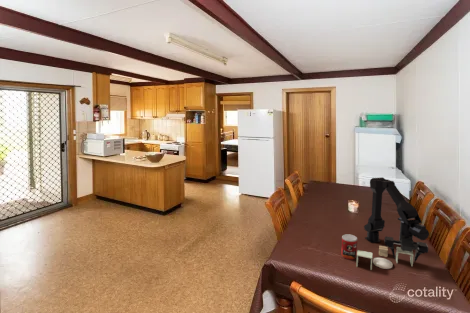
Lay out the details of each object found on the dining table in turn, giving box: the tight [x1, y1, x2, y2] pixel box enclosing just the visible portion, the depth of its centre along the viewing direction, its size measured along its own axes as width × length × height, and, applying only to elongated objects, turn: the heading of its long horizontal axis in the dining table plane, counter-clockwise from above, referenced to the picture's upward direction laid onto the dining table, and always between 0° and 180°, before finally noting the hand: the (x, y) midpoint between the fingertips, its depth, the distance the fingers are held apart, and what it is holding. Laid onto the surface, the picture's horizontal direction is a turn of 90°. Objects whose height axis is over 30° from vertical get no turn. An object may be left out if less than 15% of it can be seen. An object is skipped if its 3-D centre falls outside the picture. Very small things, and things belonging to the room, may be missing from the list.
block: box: [378, 245, 389, 258], centre depth 146 cm, size 4×4×4 cm
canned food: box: [340, 233, 358, 260], centre depth 145 cm, size 8×8×11 cm
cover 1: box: [355, 249, 373, 271], centre depth 136 cm, size 6×7×6 cm
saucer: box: [372, 257, 394, 270], centre depth 137 cm, size 9×9×1 cm
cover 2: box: [395, 246, 415, 267], centre depth 138 cm, size 6×7×6 cm
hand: (404, 259), depth 138 cm, fingers open, 9 cm apart
